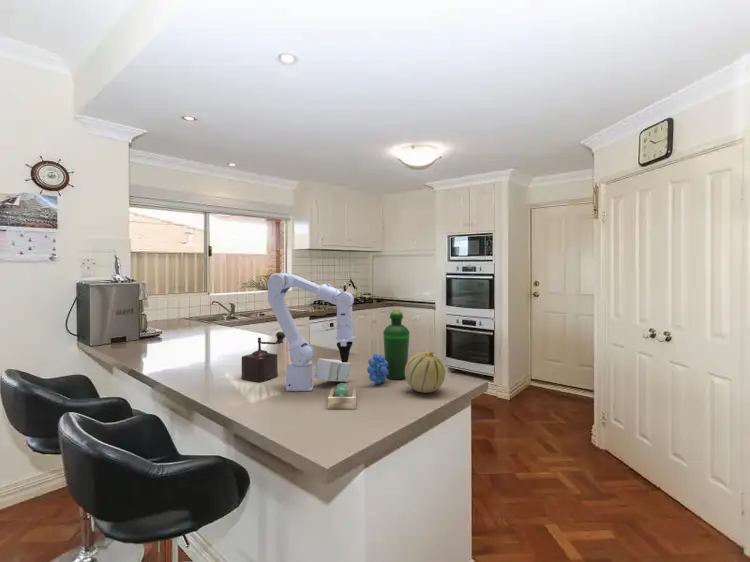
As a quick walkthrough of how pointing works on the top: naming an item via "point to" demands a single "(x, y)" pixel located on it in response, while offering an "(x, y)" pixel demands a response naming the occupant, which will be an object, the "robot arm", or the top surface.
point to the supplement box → (332, 370)
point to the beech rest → (342, 401)
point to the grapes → (377, 368)
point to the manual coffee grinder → (261, 363)
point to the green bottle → (341, 390)
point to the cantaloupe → (425, 372)
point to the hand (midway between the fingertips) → (344, 362)
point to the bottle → (396, 346)
